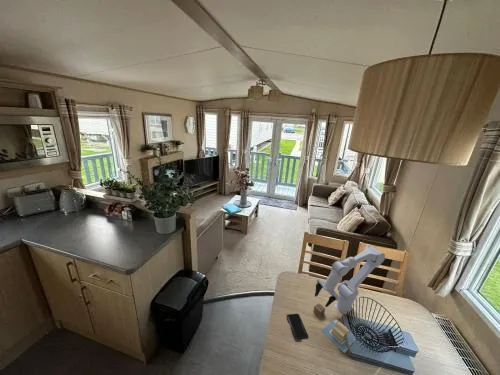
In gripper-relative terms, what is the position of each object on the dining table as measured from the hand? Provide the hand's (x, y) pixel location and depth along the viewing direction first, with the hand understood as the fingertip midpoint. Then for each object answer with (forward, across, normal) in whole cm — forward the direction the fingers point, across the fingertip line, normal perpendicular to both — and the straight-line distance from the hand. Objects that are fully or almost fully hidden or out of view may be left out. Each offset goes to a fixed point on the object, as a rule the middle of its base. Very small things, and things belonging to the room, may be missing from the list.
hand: (320, 301), depth 122 cm
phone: (+17, 0, -11) cm, 20 cm away
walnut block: (+10, 0, +6) cm, 11 cm away
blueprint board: (+9, +15, +4) cm, 18 cm away
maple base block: (+8, +15, +4) cm, 18 cm away
